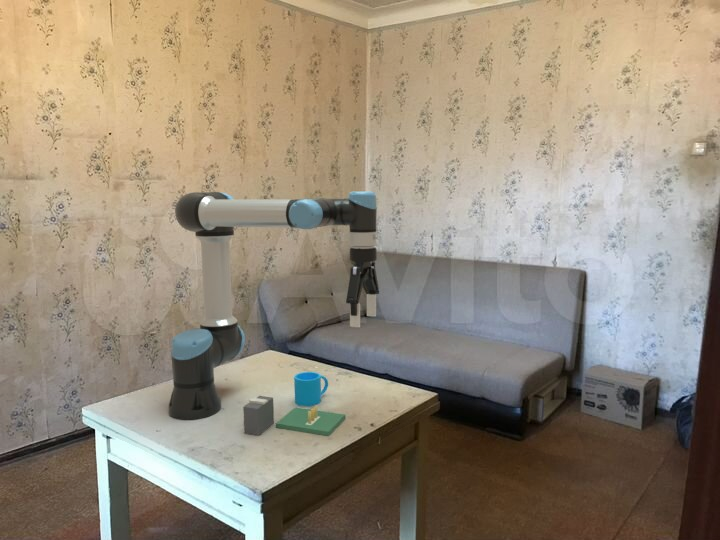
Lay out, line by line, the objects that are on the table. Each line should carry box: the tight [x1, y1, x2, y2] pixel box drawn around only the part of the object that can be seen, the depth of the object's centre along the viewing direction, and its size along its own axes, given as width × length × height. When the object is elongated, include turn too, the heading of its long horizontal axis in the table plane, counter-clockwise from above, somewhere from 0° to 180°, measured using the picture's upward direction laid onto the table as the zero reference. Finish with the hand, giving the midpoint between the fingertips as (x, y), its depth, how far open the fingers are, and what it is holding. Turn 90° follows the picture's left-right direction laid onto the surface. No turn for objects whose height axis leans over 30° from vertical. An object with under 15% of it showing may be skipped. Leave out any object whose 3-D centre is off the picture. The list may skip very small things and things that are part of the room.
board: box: [275, 405, 346, 437], centre depth 153 cm, size 16×12×5 cm
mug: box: [293, 371, 329, 407], centre depth 170 cm, size 12×8×8 cm
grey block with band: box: [242, 395, 275, 437], centre depth 150 cm, size 4×8×8 cm, turn 160°
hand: (363, 321), depth 155 cm, fingers open, 13 cm apart
